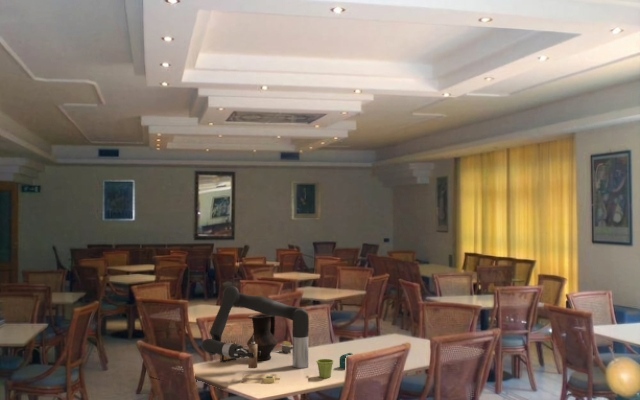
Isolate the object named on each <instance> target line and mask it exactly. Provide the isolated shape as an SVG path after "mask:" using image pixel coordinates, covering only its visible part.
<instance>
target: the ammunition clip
mask: <svg viewBox="0 0 640 400" xmlns="http://www.w3.org/2000/svg"><path fill="white" fill-rule="evenodd" d="M223 342H225V343H234V344H236V341H235V339H232V340H226V341H223ZM226 361H227V362H231V361H237V359H236V358H231V357H227V356H222V355H219V363H226Z"/></svg>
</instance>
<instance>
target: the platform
mask: <svg viewBox="0 0 640 400" xmlns="http://www.w3.org/2000/svg"><path fill="white" fill-rule="evenodd" d="M279 346H281V352H283V351H285V352H284V353H287V352H289V353H288V354H291V350H292V349H291V348H293V344H292V343H291V341H290V342H288V341H283V343H280V344H279Z"/></svg>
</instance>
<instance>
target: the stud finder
mask: <svg viewBox="0 0 640 400" xmlns="http://www.w3.org/2000/svg"><path fill="white" fill-rule="evenodd" d="M274 381H275V376H265V378H264V383H263V384H275V383H274Z"/></svg>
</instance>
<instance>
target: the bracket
mask: <svg viewBox="0 0 640 400" xmlns="http://www.w3.org/2000/svg"><path fill="white" fill-rule="evenodd" d="M353 354H354V353H353V352H348V353H346V354H345V353H344V354H342V355H341V356H340V357H339V368H340V369H345V358H346V356H348V355H353Z"/></svg>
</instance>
